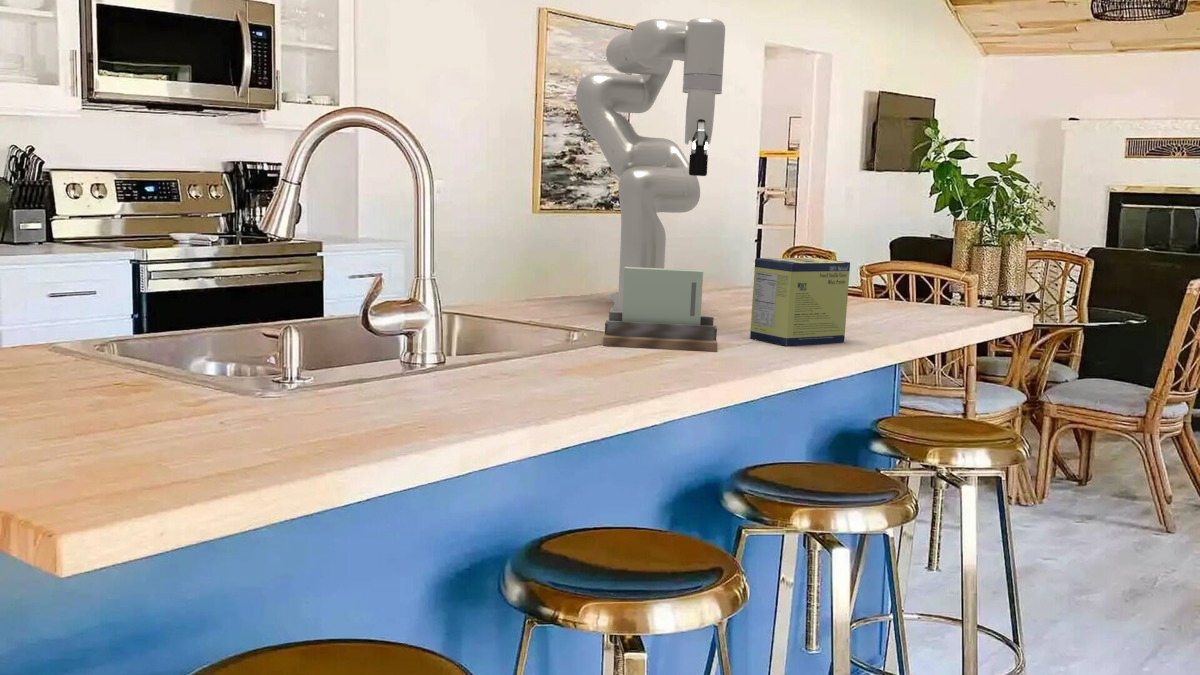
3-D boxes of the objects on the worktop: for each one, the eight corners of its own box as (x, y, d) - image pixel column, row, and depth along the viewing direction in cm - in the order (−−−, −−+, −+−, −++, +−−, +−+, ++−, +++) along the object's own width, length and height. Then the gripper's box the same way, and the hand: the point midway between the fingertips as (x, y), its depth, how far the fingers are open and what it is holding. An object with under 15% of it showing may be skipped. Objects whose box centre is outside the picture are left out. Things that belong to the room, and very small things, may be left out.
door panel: (621, 334, 212) (624, 268, 210) (621, 332, 215) (625, 266, 213) (699, 338, 211) (703, 271, 209) (698, 336, 214) (702, 270, 212)
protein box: (845, 342, 225) (851, 261, 223) (786, 347, 216) (791, 262, 214) (807, 335, 234) (812, 256, 231) (748, 338, 225) (753, 257, 222)
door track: (603, 345, 207) (604, 317, 207) (606, 336, 219) (607, 309, 219) (716, 351, 207) (718, 323, 206) (713, 341, 218) (715, 314, 218)
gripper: (682, 87, 234) (677, 174, 237) (683, 81, 217) (678, 175, 220) (719, 89, 234) (715, 176, 236) (724, 83, 217) (719, 176, 219)
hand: (697, 175), depth 228 cm, fingers open, 9 cm apart
